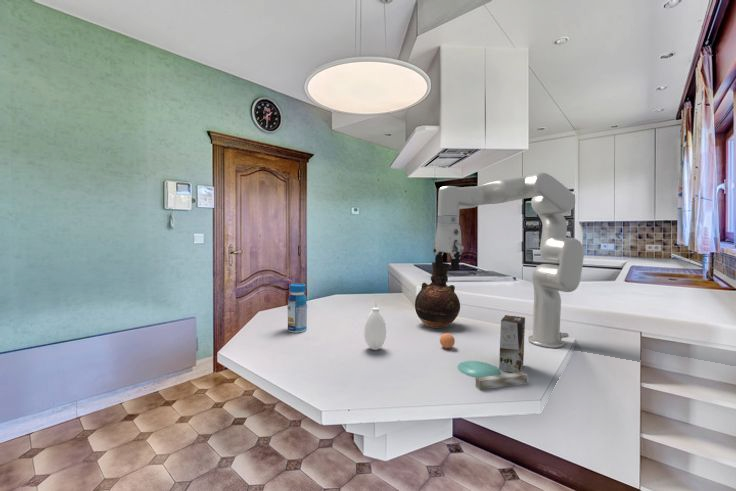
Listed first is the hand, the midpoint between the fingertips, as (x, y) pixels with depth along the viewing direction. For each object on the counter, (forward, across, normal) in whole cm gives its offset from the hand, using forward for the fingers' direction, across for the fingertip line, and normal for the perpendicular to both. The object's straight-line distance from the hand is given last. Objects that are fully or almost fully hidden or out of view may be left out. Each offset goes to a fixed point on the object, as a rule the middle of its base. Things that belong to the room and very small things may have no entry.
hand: (446, 268), depth 120 cm
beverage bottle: (+31, +43, +46) cm, 70 cm away
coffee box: (+31, -19, -13) cm, 38 cm away
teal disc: (+31, -17, -2) cm, 35 cm away
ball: (+28, +3, -4) cm, 28 cm away
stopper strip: (+31, -28, -1) cm, 41 cm away
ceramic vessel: (+31, +29, -16) cm, 45 cm away
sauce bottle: (+31, +10, +23) cm, 40 cm away
